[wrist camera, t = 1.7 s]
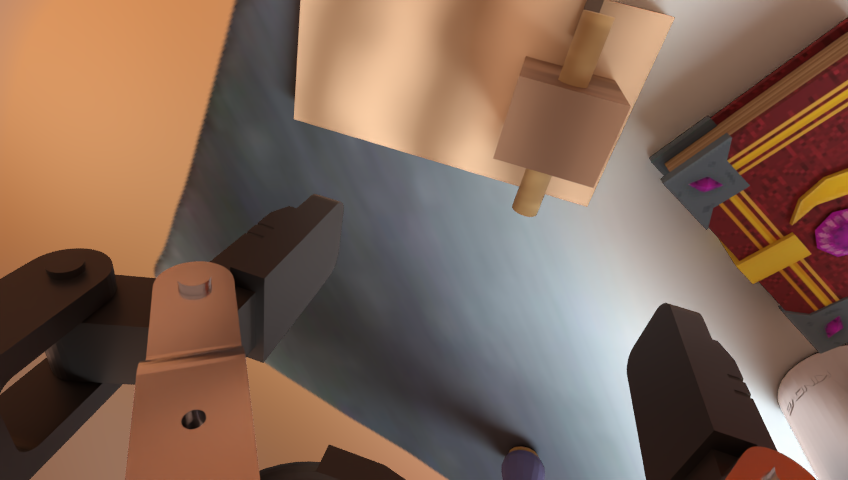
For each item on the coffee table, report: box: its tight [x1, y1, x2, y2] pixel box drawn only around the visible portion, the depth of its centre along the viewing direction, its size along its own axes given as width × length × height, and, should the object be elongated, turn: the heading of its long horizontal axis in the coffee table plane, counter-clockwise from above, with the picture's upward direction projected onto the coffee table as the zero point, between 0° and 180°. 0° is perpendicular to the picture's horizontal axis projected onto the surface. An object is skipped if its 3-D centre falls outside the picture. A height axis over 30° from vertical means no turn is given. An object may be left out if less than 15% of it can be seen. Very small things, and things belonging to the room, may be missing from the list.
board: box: [294, 0, 675, 207], centre depth 27 cm, size 20×11×2 cm, turn 78°
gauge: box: [493, 10, 631, 217], centre depth 23 cm, size 5×10×6 cm, turn 168°
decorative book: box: [650, 18, 848, 354], centre depth 25 cm, size 11×16×5 cm
